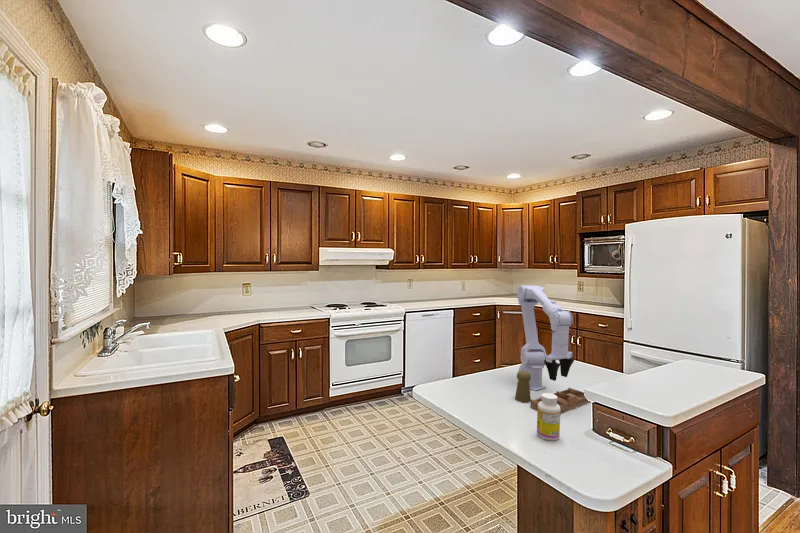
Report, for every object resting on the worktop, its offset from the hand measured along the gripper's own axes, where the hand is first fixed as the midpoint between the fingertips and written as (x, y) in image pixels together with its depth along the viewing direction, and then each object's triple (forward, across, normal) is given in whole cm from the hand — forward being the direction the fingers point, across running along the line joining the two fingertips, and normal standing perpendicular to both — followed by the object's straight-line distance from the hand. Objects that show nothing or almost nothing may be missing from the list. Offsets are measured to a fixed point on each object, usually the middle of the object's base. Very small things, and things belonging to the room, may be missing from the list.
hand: (558, 378), depth 140 cm
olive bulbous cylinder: (+10, -8, +10) cm, 16 cm away
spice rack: (+10, +1, -1) cm, 10 cm away
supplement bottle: (+10, -26, -13) cm, 31 cm away
